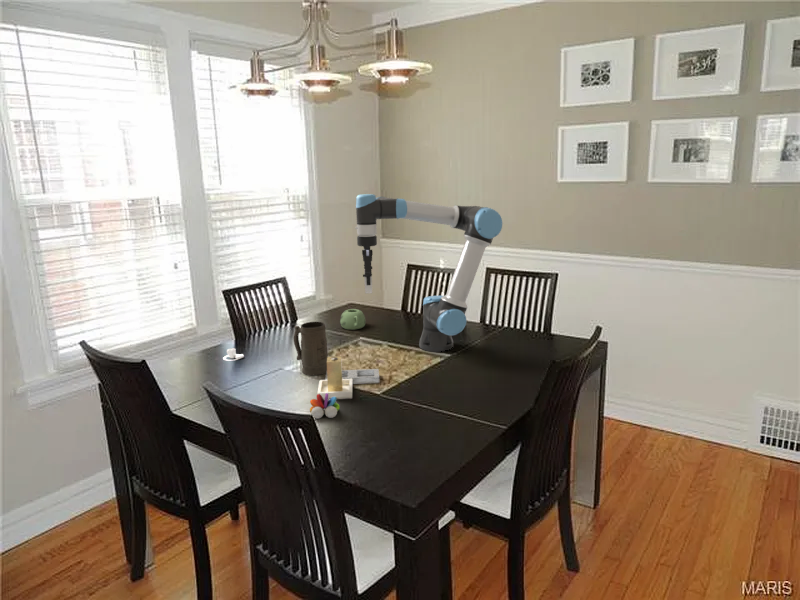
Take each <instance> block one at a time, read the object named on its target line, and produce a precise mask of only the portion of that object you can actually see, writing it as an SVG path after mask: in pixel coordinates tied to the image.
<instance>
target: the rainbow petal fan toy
mask: <svg viewBox="0 0 800 600" xmlns="http://www.w3.org/2000/svg"><path fill="white" fill-rule="evenodd" d="M337 400H338V399H337V398H336V397H332V398H331V399H329V400H328V393H326V394H325V400H324V399H323V397H322V396H321V395H320V394H318V395H317V394H316V398H313V399H311V400H310V402H309V403H310V405H311V407H310V408H309V412H310V414H311V416H312V415H313V416H314V417H315V418H314V417H313V416H312V417H313V418H314V419H321V418H322V417H324V415H325V416H326V417H327V418H329V419H333V418H335V417H337V414H338V411H339V410H340V409H341V407H340V404H339V403H338V402H337Z"/></svg>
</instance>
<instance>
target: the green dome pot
mask: <svg viewBox="0 0 800 600" xmlns="http://www.w3.org/2000/svg"><path fill="white" fill-rule="evenodd" d="M339 320H340V321H339V323H340V326H341V327H342V328H343V329H344V330H348V331H349V330H351V331H355V330H360V329H362V328H364V327H365V326H366V316H365V314H364V313H363V311H362V310H360V309H356V308H350V309H349V308H348V309H346V310H344V311H343V312H342V313H341V315H340V319H339Z"/></svg>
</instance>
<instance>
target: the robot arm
mask: <svg viewBox="0 0 800 600" xmlns="http://www.w3.org/2000/svg"><path fill="white" fill-rule="evenodd" d="M355 199H356V202H355V203H356V204H355V210H356V212H355V213H356V214H355V215H356V226H355V230H356V234H357V236H356V241H357V244H356V245H357V246H359V247H363V249H362V251H361V254H362V258H363V259H362V261H363V263H364V264H363V266H364V267H363V268H364V269H363V271H364V273H363V274H362V277H363V278H364V294H373V278H372V276H373V273H372V270H373V266H372V262H373V249H371V247H375V246H377V244H378V243H377V242H378V239H377V238H378V237H377V234H378V233H377V232H378V229H377V220H390V219H391V220H392V219H393V220H394V219H397V220H399V219H403V220H411V221H419V222H424V223H432V224H437V225H438V224H440V225H444V226H445V225H446V226H449V227H450V228H451V229H457V230H461V231H464V234H463V237H464V239H465V242H464V245H463V247H462V249H461V251H460V252H461V253H460V256H459V258H458V261H457V263H456V266H455V269H454V272H453V275H452V277H451V281H450V282H449V285H448V289H447V291H446V294H445V295H430V296H425V297H424V298H423V304H422V306H423V307H422V309H423V310H422V316H423V319H422V320H423V321H422V322H423V329H422V332H421V336H420V338H419V342H418V343H419V345H418V346H419V348H420V349H421V350H423V351H425V352H426V351H427V352H431V353H432V352H434V353H436V352H437V353H438V352H441V351H442V352H446V351H445V350H448V351H450V350H452V349H453V348H454V340H453V337H452V336H457V335H458V334H460V333H461V332H462V331H463V330H464V329H465V328H466V326H467V317H466V312H467V309H468V306H467V305H468V304H467V303H466V301H467V299H468V295H469V293H470V290H471V288H472V287H473V283H474V280H475V277H476V274H477V272H478V270H479V267H480V264H481V262H482V261H481V260H482V258H483V256H484V253H485V250H486V248H487V247H489V246H491V245H492V242H493V239H494V238H495V237H497V236H498V235H499V234H500V233H501V231H502V229H503V218H502V216H501V214H500V213H499V212H498V211H497V210H496V209H493V208H491V207H487V206H486V207H485V206H484V207H483V206H477V205H470V206H469V205H456V204H455V205H453V206H447V205H446V206H445V205H439V204H431V203H425V202H419V201H412V200H407V199H405V198H391V197H386V196H378V197H377V195H375V194H373V193H365V194H362V193H361V194H358V195H357V196H356V198H355ZM452 347H453V348H452ZM451 348H452V349H451ZM449 349H450V350H449ZM442 352H441V353H442Z"/></svg>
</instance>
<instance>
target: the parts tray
mask: <svg viewBox="0 0 800 600" xmlns="http://www.w3.org/2000/svg"><path fill="white" fill-rule="evenodd" d="M342 382H343V391H334V392H328V380H325V379H319V382H318V386H317V388H318V389H317V393H316V396H317V395H318V394H320V395H321V396H322V397H323V399H324V400H325V394H326V393H328V399H331V398H332V397H336V398H337V399H336V400H348V399H349V400H351V399H353V385H354V384H353V383H352V379H342Z"/></svg>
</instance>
